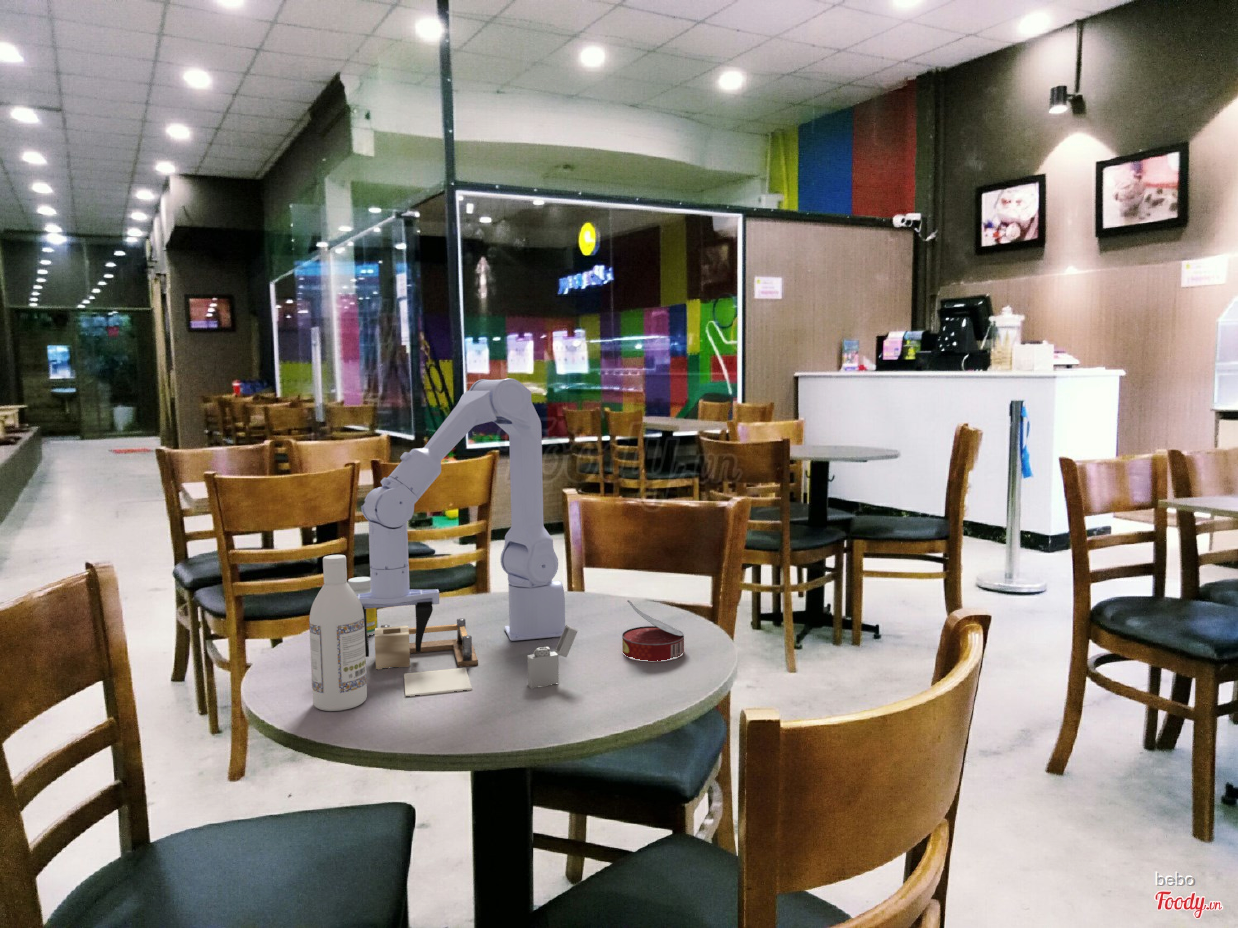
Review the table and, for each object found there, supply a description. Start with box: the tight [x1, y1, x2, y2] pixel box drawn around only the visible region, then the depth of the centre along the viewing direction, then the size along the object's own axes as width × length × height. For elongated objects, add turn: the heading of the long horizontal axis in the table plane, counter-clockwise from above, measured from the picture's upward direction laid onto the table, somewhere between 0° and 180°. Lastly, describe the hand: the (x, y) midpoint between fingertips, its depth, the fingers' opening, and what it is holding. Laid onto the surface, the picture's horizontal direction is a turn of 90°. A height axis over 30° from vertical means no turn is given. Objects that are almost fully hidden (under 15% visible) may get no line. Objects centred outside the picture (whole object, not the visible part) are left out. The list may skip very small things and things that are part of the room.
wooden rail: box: [380, 618, 479, 668], centre depth 131 cm, size 14×12×4 cm
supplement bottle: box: [347, 576, 379, 637], centre depth 144 cm, size 5×5×10 cm
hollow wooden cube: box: [374, 625, 411, 670], centre depth 129 cm, size 5×5×5 cm
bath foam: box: [308, 554, 368, 712], centre depth 112 cm, size 7×7×20 cm
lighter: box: [526, 624, 579, 689], centre depth 119 cm, size 7×2×8 cm, turn 113°
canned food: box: [621, 599, 685, 661], centre depth 133 cm, size 11×10×10 cm
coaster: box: [403, 667, 473, 698], centre depth 120 cm, size 9×9×1 cm
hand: (392, 652), depth 129 cm, fingers open, 7 cm apart
